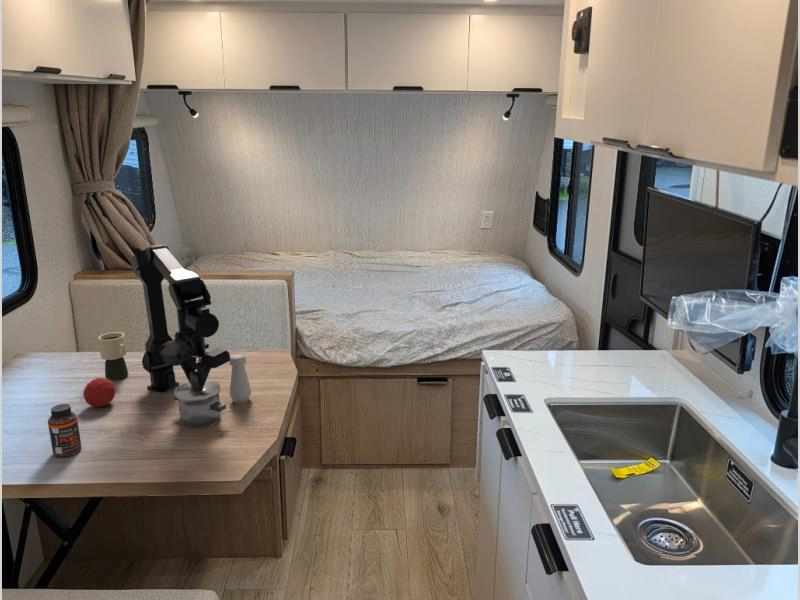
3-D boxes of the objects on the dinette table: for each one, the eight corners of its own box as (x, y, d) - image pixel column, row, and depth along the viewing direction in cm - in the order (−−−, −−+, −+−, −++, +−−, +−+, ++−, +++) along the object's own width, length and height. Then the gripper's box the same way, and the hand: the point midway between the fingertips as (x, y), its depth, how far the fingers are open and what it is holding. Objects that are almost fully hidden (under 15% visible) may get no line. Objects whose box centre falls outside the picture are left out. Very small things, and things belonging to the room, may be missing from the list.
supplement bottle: (62, 461, 140) (54, 415, 137) (48, 453, 143) (39, 409, 140) (87, 449, 145) (80, 405, 142) (72, 442, 148) (65, 399, 145)
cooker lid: (165, 396, 155) (162, 374, 153) (197, 380, 164) (195, 359, 163) (198, 405, 150) (195, 382, 148) (229, 388, 159) (227, 366, 158)
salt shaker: (246, 405, 166) (242, 360, 162) (226, 404, 167) (222, 359, 164) (255, 396, 172) (251, 352, 168) (236, 394, 173) (232, 351, 169)
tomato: (108, 378, 163) (91, 367, 166) (86, 403, 160) (70, 391, 163) (126, 392, 169) (109, 381, 173) (105, 416, 166) (89, 404, 170)
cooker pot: (163, 420, 158) (160, 399, 157) (192, 404, 167) (190, 384, 165) (210, 434, 152) (208, 411, 150) (238, 416, 160) (236, 395, 158)
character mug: (139, 376, 186) (133, 335, 182) (118, 385, 180) (112, 342, 176) (116, 369, 191) (110, 329, 187) (95, 377, 185) (88, 336, 181)
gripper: (137, 330, 149) (145, 390, 154) (195, 342, 141) (201, 405, 146) (172, 317, 159) (179, 373, 163) (229, 328, 151) (234, 387, 155)
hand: (197, 384), depth 157 cm, fingers closed on cooker lid, 3 cm apart
